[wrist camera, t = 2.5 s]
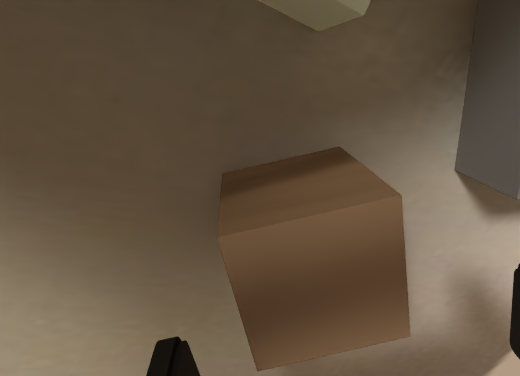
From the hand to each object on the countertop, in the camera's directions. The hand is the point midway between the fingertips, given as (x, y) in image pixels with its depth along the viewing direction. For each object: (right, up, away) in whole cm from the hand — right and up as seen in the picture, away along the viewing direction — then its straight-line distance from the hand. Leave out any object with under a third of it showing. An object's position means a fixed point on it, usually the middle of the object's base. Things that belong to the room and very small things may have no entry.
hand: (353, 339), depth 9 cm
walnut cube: (-1, +3, +7) cm, 8 cm away
